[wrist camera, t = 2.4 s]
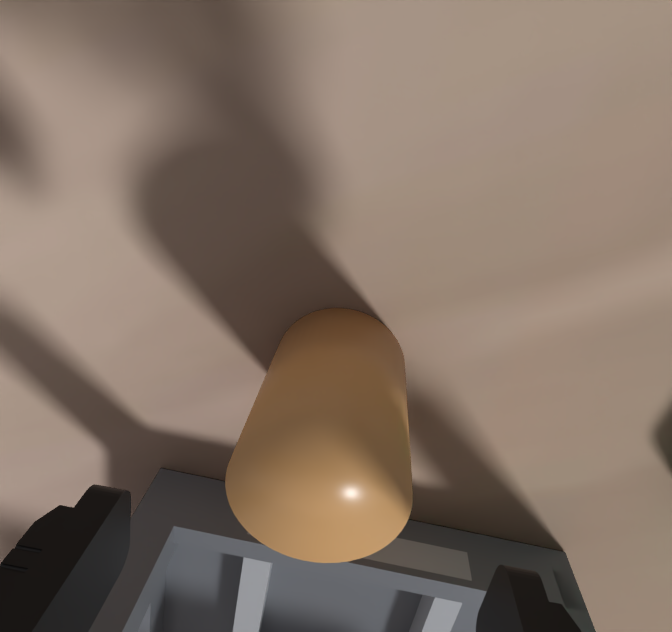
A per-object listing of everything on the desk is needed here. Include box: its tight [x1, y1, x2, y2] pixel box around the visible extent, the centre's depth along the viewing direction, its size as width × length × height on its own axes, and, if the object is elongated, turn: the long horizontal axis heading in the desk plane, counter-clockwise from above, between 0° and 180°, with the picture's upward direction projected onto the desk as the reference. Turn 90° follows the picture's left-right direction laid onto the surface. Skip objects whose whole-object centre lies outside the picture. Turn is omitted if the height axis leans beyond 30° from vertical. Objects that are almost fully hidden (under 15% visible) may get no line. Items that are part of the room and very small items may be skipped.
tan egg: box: [225, 308, 413, 563], centre depth 15 cm, size 4×4×6 cm
